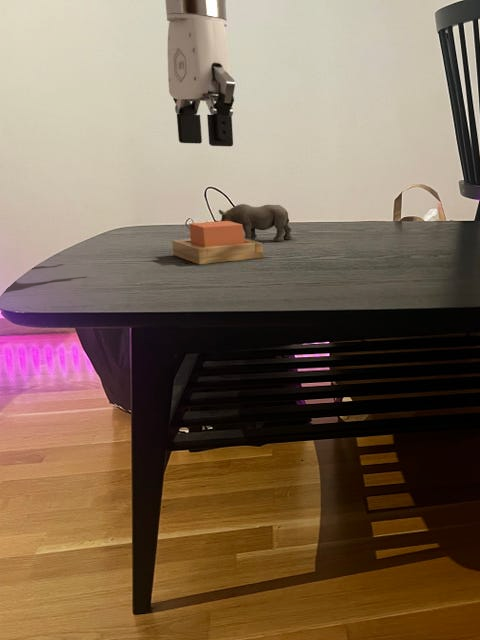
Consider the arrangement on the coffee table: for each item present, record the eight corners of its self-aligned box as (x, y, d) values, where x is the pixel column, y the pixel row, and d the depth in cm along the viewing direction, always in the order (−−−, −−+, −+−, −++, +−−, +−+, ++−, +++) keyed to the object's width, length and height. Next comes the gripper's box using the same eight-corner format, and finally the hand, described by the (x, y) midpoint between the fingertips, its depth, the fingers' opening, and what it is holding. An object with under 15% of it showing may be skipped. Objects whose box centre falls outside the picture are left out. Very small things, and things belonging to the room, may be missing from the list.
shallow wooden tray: (199, 264, 98) (198, 249, 97) (173, 255, 104) (171, 240, 103) (263, 257, 105) (262, 242, 104) (235, 249, 111) (234, 235, 110)
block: (205, 255, 101) (203, 227, 99) (191, 250, 104) (189, 223, 102) (244, 251, 105) (242, 224, 103) (230, 247, 108) (228, 220, 106)
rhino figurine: (208, 238, 119) (205, 202, 117) (291, 237, 123) (290, 203, 121) (206, 242, 115) (203, 205, 113) (292, 241, 119) (291, 205, 117)
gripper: (142, 12, 97) (154, 141, 102) (197, 0, 86) (206, 146, 91) (195, 20, 102) (204, 143, 107) (254, 10, 91) (260, 148, 96)
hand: (205, 144), depth 99 cm, fingers open, 9 cm apart
